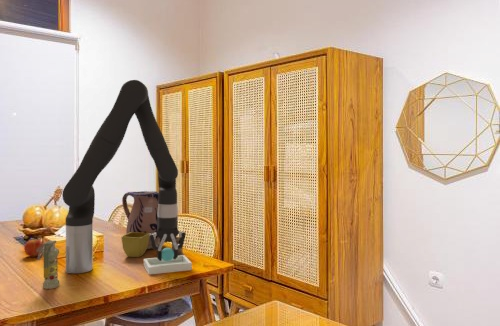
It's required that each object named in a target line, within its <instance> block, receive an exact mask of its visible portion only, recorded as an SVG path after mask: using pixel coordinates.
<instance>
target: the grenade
mask: <svg viewBox="0 0 500 326" xmlns="http://www.w3.org/2000/svg"><path fill="white" fill-rule="evenodd" d="M56 243H57V240H47V241H46V242H44V243H43V245H42V246H41V247H39V248H38V249H37V250H36V251H37V252H39V251H40V252H39V254H38V256H37V259H36V260H38V261H40V260H41V259H42V257H43V278H44V281H43V283H42V288H43V289H46V290H51V289H55V288H58V287H59V285H60V280H59V278H58V277H59V276H58V275H59V274H58V271H59V270H58V268H59V267H58V265H59V264H58V256H59V254H60V249H59V248H57V247H56ZM42 247H44V248H42ZM39 249H41V250H39ZM41 251H42V253H41Z"/></svg>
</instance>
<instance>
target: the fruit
mask: <svg viewBox="0 0 500 326" xmlns="http://www.w3.org/2000/svg"><path fill="white" fill-rule="evenodd" d="M43 244H44V243H43V242H42V241H41V240H40V239H36V237H33V238H32V239H30V240H28V241H27V242H25V245H24V253H25V255H28V256H29V257H31V258H35V257H38V254H39V252H40V251H39V252H37V251H36V250H37V249H38V248H39V247H41V246H42V245H43ZM42 248H43V249H44V247H42ZM39 250H41V249H39ZM41 254H42V251H41Z"/></svg>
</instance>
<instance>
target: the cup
mask: <svg viewBox="0 0 500 326" xmlns="http://www.w3.org/2000/svg"><path fill="white" fill-rule="evenodd" d="M175 240H176V243H177V245H178V244H179V240H180V237H179V236H177V237H176V238H175ZM171 249H172V250H173V249H174V247H173V244H172V243H171ZM183 249H184V248H183V247H182V248H179V249H178V256H179V255H185V253H184V252H183Z"/></svg>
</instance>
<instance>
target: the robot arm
mask: <svg viewBox="0 0 500 326" xmlns="http://www.w3.org/2000/svg"><path fill="white" fill-rule="evenodd" d="M134 115H135V117H136V120H137V122H138V123H139V128H140V129H141V135H142V137H143V140H144V142H145V146H146V147H147V150H148V152H149V155H150V157H151V159H152V160H153V162H154V164H155V167H156V171H157V184H158V192H157V193H158V212H157V215H158V227H157V231H156V233H153V234H151V233H150V234H149V237H150V241H151V245H152V248H151V249H152V250H154V251H156V258H158V259H159V261H161V260H162V250H163V249H162V248H163V246H164V245H165V244H166V243H171V245H172V244H173V247H174V249H173V251H174V257H173V259H176V258H177V257H178V249H179V248H182V247H183V246H184V242H185V239H186V235H187V233H186V232H185V231H179V227H178V225H179V224H178V223H179V222H178V221H179V218H178V216H179V215H178V213H179V211H178V191H177V186H176V185H177V178H178V176H179V170H178V167H177V165H176V163H175V160H174V159H173V157H172V155H171V153H170V150H169V147H168V144H167V141H166V139H165V137H164V134H163V133H162V131H161V128H160V126H159V124H158V122H157V119H156V117H155V114H154V112H153V109H152V106H151V102H150V95H149V91H148V87H147V86H146V84H144V83H143V82H142V81H140V80H138V79H129V80H127V81H125V82H124V83H123V84H122V86H121V88H120V90H119V93H118V95H117V98H116V100H115V102H114V104H113V106H112V108H111V110H110V112H109V113H108V115H107V116H106V118H105V119H104V120H103V122H102V124H101V125H100V127H99V129H98V130H97V132H96V134H95V135H94V137H93V139H92V140H91V142H90V145H89V147H88V148H87V150H86V152H85V154H84V156H83V158H82V160H81V162H80V164H79V166H78V168H77V169H76V170H75V172H74V174H72V176H71V178H70V179H69V181H68V182H67V183H66V185H65V186H64V187H63V191H62V193H61V194H62V200H63V202H64V203H65V205H66V206H68V212H67V215H66V217H65V274H83V273H84V274H85V273H87V272H91V271H93V268H94V267H93V265H94V262H93V261H94V260H93V259H94V256H93V255H94V253H93V252H94V247H93V245H94V242H93V241H94V240H93V239H94V237H93V235H94V234H93V228H94V225H93V223H94V222H93V221H94V216H95V205H96V204H95V203H96V201H95V200H96V199H95V196H96V195H95V188H94V184H95V181H96V179H97V178H98V176H99V175H100V174H101V172H102V171H103V170H104V169H105V168H106V167H107V166H108V165H109V163H111V161H112V159H113V158H114V157H115V155H116V153H117V152H118V151H119V148H120V146H121V144H122V142H123V141H124V138H125V135H126V132H127V130H128V127H129V124H130V122H131V120H132V118H133V117H134ZM156 236H158V237H159V239H160V240H159V242H158V246H156V245H155V241H154V239H156ZM176 237H180V240H179V244H178V245H177V243H176V240H175V238H176Z"/></svg>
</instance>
